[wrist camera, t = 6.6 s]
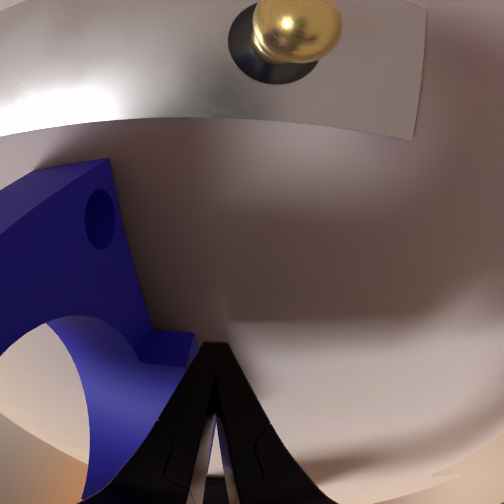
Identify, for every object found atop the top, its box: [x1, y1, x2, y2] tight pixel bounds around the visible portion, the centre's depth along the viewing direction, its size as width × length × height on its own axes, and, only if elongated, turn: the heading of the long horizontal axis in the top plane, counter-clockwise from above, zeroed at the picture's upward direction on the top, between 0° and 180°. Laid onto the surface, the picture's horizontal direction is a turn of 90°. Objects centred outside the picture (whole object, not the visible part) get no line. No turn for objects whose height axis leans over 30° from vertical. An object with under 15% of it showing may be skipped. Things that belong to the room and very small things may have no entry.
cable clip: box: [0, 158, 216, 500], centre depth 8 cm, size 12×4×6 cm, turn 3°
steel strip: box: [0, 0, 426, 141], centre depth 5 cm, size 4×16×4 cm, turn 86°
